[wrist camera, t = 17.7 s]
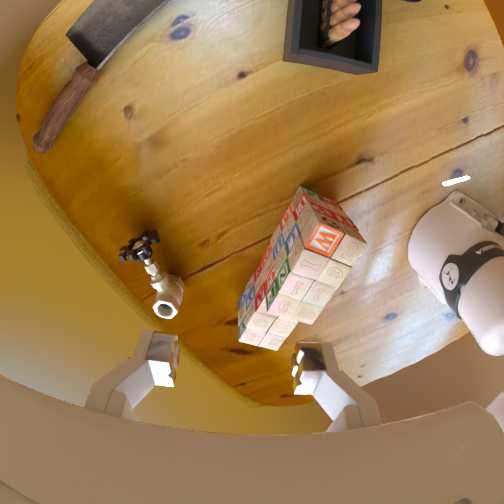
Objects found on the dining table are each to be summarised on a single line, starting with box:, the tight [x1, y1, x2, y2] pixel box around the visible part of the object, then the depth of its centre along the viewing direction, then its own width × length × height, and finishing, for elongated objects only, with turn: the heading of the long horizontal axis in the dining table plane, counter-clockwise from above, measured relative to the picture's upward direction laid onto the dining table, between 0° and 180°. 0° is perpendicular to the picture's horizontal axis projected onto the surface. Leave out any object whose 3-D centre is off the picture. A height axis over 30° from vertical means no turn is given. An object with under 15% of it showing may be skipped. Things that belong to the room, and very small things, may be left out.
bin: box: [283, 0, 382, 75], centre depth 22 cm, size 10×16×7 cm, turn 175°
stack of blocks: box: [238, 186, 367, 351], centre depth 37 cm, size 21×6×12 cm, turn 157°
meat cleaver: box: [33, 0, 170, 153], centre depth 24 cm, size 34×11×4 cm, turn 132°
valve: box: [119, 230, 185, 319], centre depth 40 cm, size 7×7×12 cm
